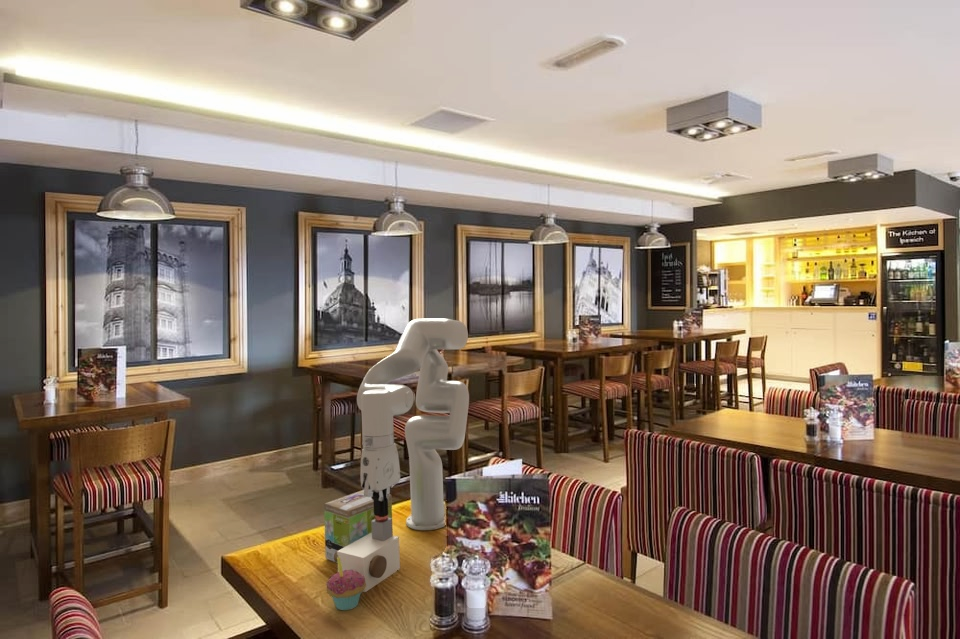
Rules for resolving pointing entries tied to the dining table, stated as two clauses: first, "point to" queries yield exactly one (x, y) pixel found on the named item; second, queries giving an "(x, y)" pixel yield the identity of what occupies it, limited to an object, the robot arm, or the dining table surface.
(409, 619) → the dining table surface
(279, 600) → the dining table surface
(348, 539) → the tea box
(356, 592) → the cupcake
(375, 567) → the pin
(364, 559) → the block
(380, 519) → the plunger
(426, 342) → the robot arm
